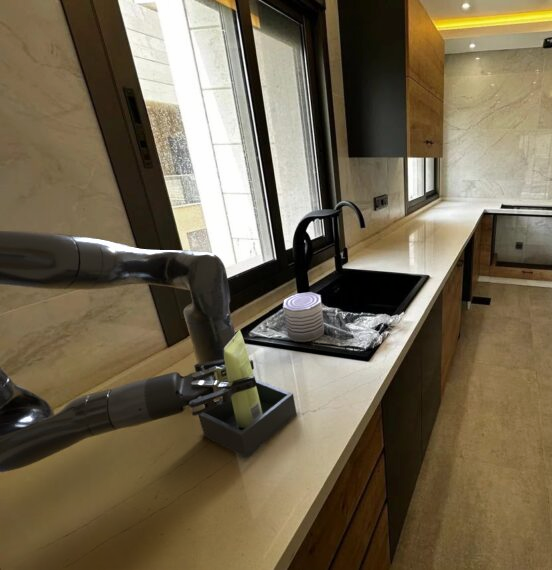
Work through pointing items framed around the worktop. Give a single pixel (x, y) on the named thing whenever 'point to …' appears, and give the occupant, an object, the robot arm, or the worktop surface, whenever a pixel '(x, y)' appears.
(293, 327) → the can
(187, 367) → the worktop surface
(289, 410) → the tub
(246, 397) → the tube
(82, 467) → the worktop surface
